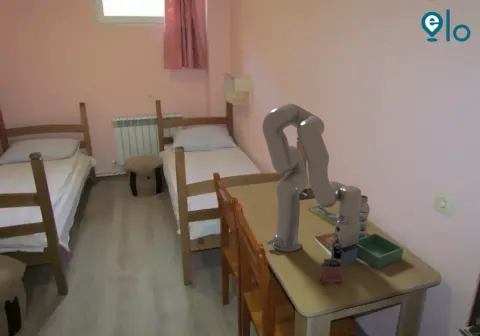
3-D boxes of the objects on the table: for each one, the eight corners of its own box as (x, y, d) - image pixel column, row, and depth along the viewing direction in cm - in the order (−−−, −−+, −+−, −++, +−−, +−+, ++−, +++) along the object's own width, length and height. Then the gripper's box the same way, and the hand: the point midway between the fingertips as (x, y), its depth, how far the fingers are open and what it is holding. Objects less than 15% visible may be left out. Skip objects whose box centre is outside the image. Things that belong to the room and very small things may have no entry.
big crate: (376, 268, 149) (378, 257, 148) (349, 251, 161) (351, 241, 160) (401, 259, 156) (403, 248, 155) (373, 243, 168) (375, 233, 166)
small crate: (343, 266, 151) (344, 253, 149) (331, 258, 157) (332, 245, 155) (356, 261, 154) (357, 248, 152) (343, 253, 160) (345, 240, 158)
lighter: (340, 279, 143) (342, 256, 140) (342, 285, 140) (345, 261, 136) (318, 279, 142) (320, 256, 139) (321, 285, 139) (323, 261, 136)
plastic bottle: (356, 242, 169) (361, 200, 162) (348, 235, 175) (352, 194, 168) (369, 240, 170) (374, 199, 164) (360, 233, 177) (365, 193, 170)
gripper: (338, 226, 142) (334, 267, 148) (371, 216, 150) (366, 256, 156) (324, 218, 148) (321, 258, 154) (357, 209, 157) (352, 247, 162)
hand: (343, 257), depth 155 cm, fingers closed on small crate, 7 cm apart
